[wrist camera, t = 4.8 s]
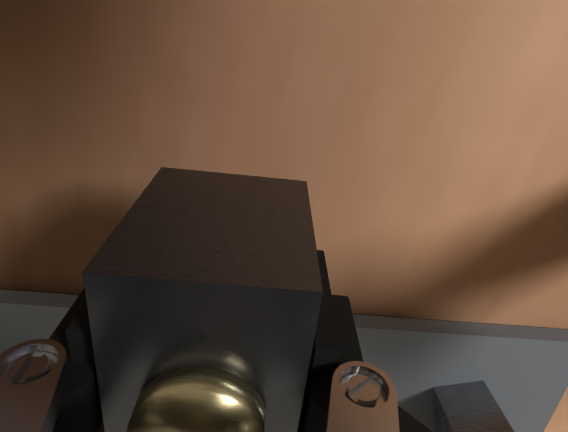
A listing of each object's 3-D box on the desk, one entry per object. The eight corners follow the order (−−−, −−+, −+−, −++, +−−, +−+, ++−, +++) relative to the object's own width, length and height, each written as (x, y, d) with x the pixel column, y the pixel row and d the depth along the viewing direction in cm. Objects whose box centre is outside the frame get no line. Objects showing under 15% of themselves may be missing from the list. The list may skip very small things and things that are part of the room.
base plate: (-160, 278, 19) (-233, 319, 16) (576, 329, 21) (621, 374, 19) (-85, 462, 24) (-130, 517, 22) (497, 488, 27) (522, 540, 24)
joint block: (167, 344, 14) (104, 528, 9) (161, 167, 11) (65, 294, 6) (282, 352, 14) (282, 537, 9) (306, 181, 11) (326, 315, 6)
